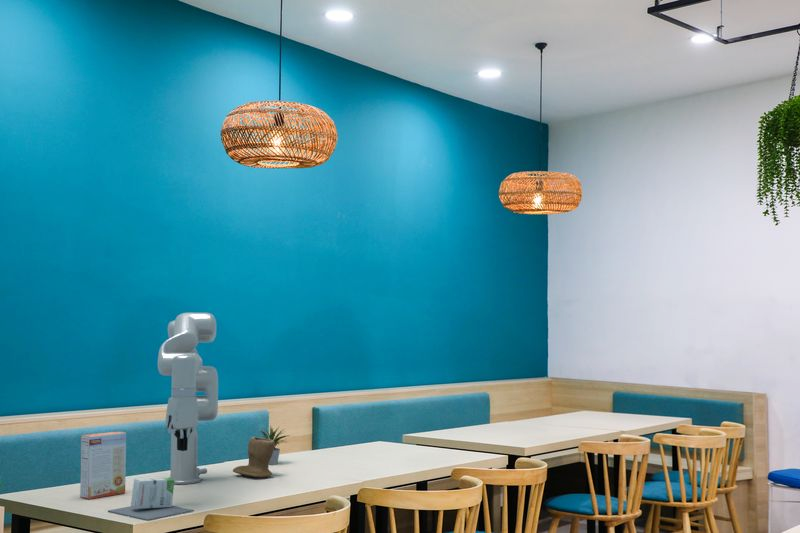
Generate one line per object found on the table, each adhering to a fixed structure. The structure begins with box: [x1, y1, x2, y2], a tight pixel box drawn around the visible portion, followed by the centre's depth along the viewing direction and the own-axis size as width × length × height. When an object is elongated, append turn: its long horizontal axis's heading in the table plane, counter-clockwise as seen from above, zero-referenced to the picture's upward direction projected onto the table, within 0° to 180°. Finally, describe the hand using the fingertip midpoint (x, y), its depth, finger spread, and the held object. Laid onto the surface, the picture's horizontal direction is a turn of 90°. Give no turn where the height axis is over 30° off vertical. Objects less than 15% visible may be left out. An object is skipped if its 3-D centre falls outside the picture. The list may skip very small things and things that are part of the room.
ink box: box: [130, 477, 175, 509], centre depth 269 cm, size 9×5×12 cm
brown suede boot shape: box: [232, 436, 276, 478], centre depth 331 cm, size 15×12×15 cm
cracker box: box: [79, 430, 127, 500], centre depth 292 cm, size 14×6×21 cm, turn 140°
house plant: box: [260, 425, 291, 466], centre depth 359 cm, size 14×14×16 cm
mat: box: [107, 505, 195, 521], centre depth 266 cm, size 17×20×1 cm
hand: (182, 450), depth 277 cm, fingers closed
